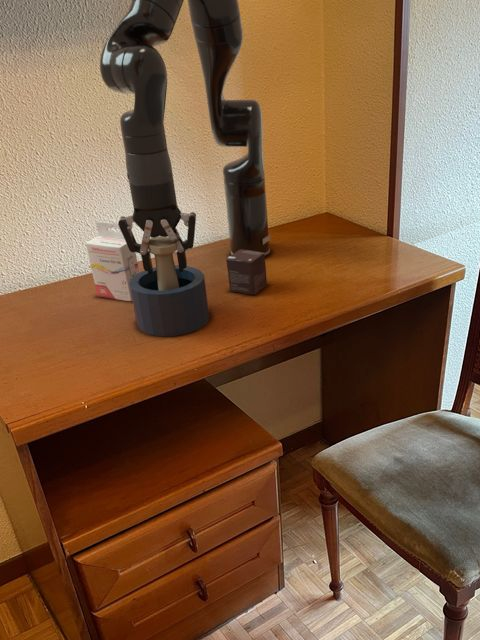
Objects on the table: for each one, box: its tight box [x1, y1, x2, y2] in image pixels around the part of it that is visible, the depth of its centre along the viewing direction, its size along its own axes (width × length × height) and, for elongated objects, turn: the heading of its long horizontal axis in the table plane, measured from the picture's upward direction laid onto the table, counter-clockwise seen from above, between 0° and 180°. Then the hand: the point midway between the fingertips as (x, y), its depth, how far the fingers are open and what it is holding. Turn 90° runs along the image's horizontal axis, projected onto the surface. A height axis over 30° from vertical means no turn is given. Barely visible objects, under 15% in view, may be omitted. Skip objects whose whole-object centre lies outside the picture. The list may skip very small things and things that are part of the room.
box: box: [225, 249, 268, 296], centre depth 139 cm, size 6×6×7 cm
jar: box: [129, 264, 210, 337], centre depth 126 cm, size 14×14×8 cm
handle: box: [148, 236, 179, 291], centre depth 124 cm, size 5×6×15 cm
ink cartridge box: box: [85, 221, 140, 302], centre depth 135 cm, size 9×5×15 cm, turn 71°
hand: (166, 271), depth 123 cm, fingers closed on handle, 5 cm apart
